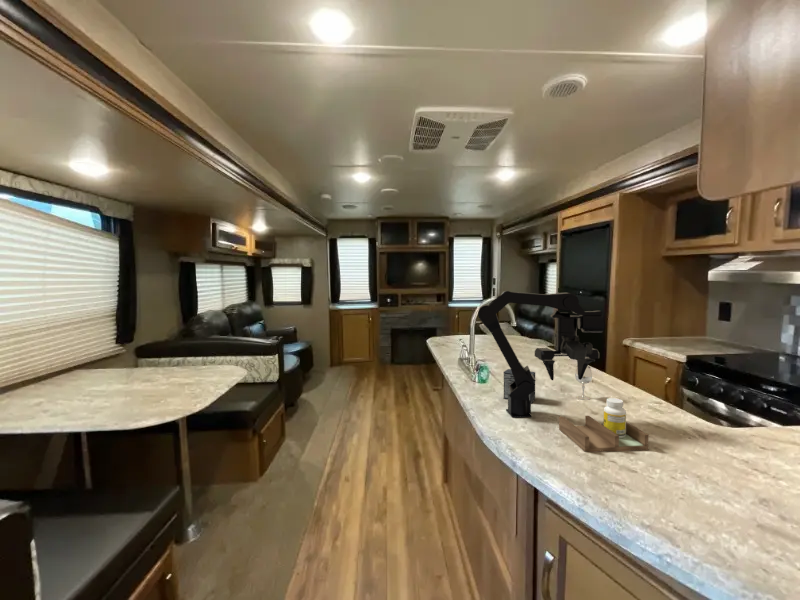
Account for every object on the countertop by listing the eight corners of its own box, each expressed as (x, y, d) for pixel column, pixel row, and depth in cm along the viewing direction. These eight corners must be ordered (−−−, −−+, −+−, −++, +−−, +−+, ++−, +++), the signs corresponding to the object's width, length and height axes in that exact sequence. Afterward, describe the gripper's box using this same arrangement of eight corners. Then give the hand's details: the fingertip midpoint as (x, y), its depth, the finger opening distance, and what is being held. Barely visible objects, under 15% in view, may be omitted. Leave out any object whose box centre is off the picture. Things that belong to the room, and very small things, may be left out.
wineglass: (590, 401, 131) (590, 369, 131) (573, 398, 135) (573, 367, 134) (593, 397, 136) (593, 366, 135) (576, 394, 139) (576, 364, 139)
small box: (535, 398, 135) (536, 371, 135) (532, 404, 130) (532, 375, 129) (507, 394, 141) (507, 368, 141) (502, 399, 136) (503, 371, 135)
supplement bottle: (606, 428, 105) (606, 395, 104) (627, 433, 101) (628, 399, 101) (601, 434, 101) (601, 400, 100) (623, 440, 97) (624, 405, 97)
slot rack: (585, 451, 94) (585, 436, 93) (559, 429, 108) (559, 416, 107) (648, 449, 94) (648, 434, 94) (614, 427, 108) (614, 414, 108)
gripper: (549, 336, 107) (548, 387, 108) (610, 335, 108) (609, 386, 108) (534, 330, 118) (533, 377, 119) (589, 329, 119) (588, 376, 120)
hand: (566, 379), depth 116 cm, fingers open, 9 cm apart
